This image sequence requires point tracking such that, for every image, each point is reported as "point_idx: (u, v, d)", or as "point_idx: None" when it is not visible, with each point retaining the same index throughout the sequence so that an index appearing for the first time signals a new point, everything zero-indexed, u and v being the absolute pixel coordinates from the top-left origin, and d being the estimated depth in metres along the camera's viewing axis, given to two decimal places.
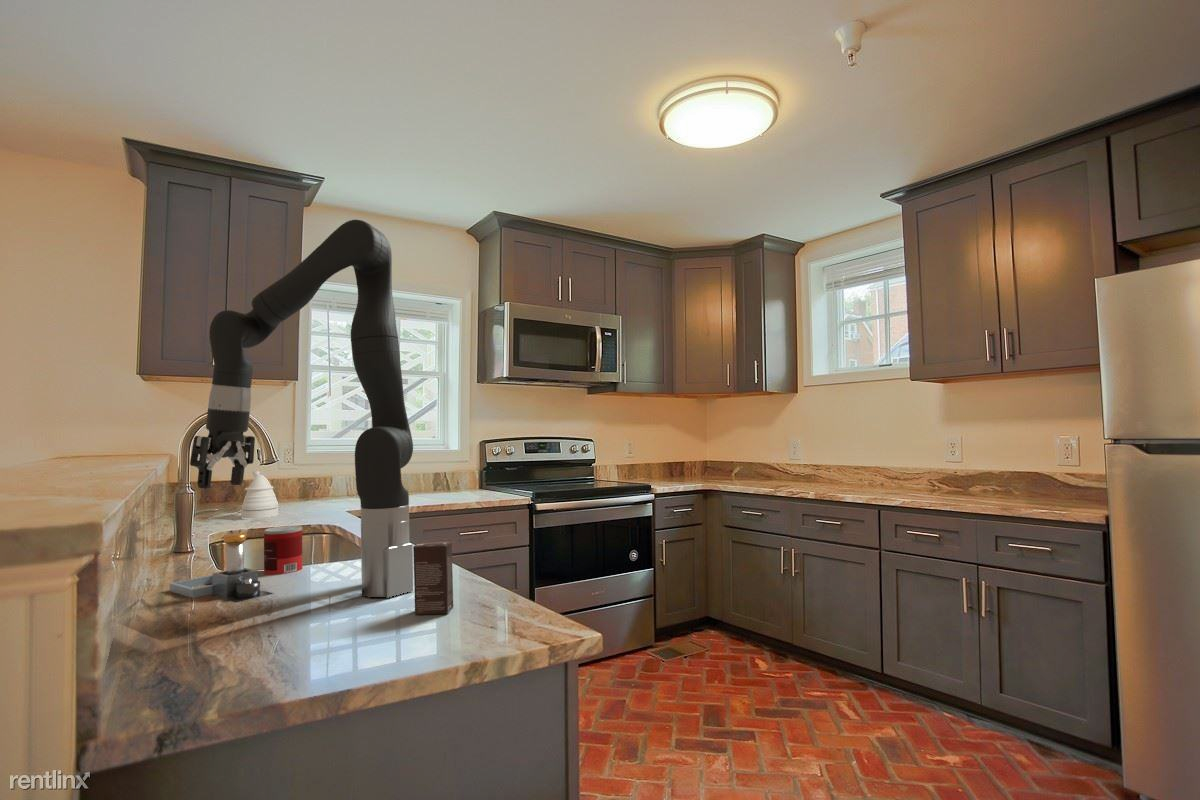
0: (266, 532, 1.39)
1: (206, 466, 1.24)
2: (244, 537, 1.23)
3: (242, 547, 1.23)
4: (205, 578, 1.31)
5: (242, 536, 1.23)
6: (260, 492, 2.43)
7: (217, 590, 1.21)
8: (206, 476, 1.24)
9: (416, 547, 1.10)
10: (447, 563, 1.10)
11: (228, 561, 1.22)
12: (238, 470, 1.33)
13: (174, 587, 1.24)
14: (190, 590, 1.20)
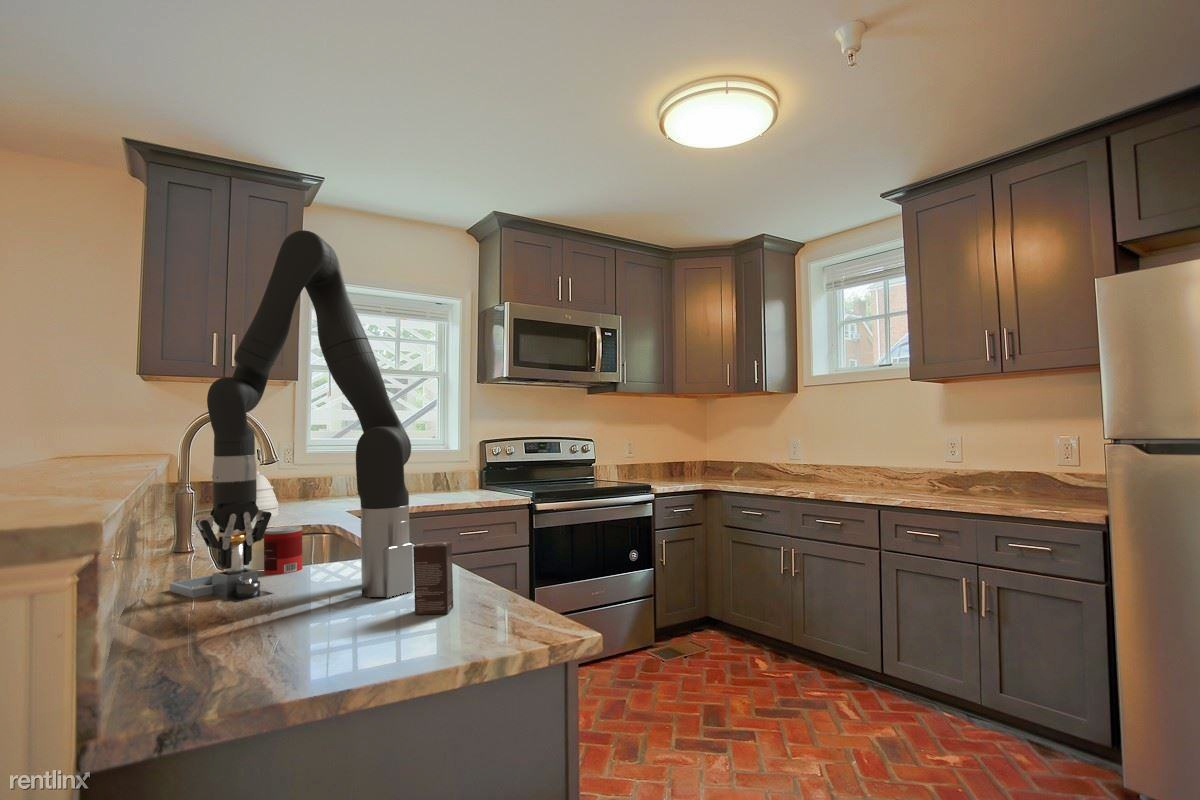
0: (266, 532, 1.39)
1: (221, 546, 1.20)
2: (244, 537, 1.23)
3: (242, 547, 1.23)
4: (205, 578, 1.31)
5: (242, 536, 1.23)
6: (260, 492, 2.43)
7: (217, 590, 1.21)
8: (224, 556, 1.21)
9: (416, 547, 1.10)
10: (447, 563, 1.10)
11: None
12: (244, 550, 1.24)
13: (174, 587, 1.24)
14: (190, 590, 1.20)
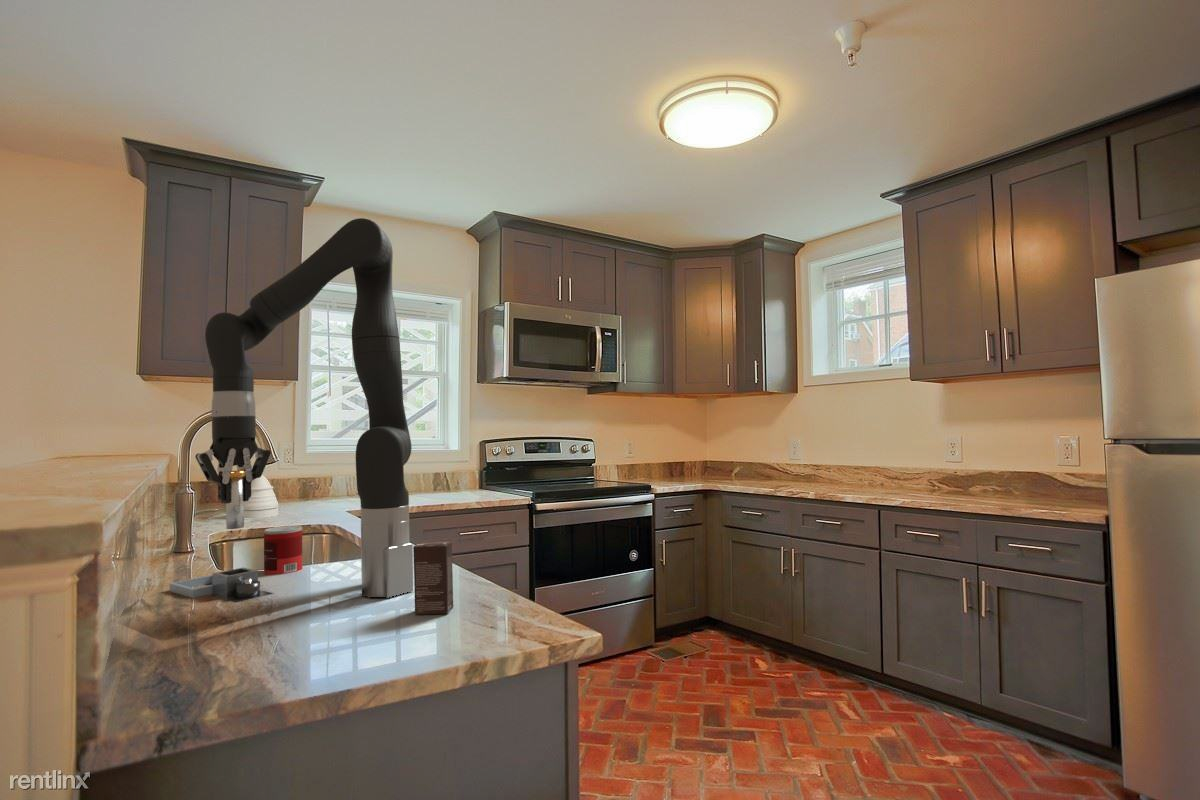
0: (266, 532, 1.39)
1: (221, 480, 1.21)
2: (243, 473, 1.24)
3: (241, 483, 1.24)
4: (205, 578, 1.31)
5: (241, 471, 1.23)
6: (260, 492, 2.43)
7: (217, 590, 1.21)
8: (224, 491, 1.21)
9: (416, 547, 1.10)
10: (447, 563, 1.10)
11: None
12: (243, 486, 1.25)
13: (174, 587, 1.24)
14: (190, 590, 1.20)
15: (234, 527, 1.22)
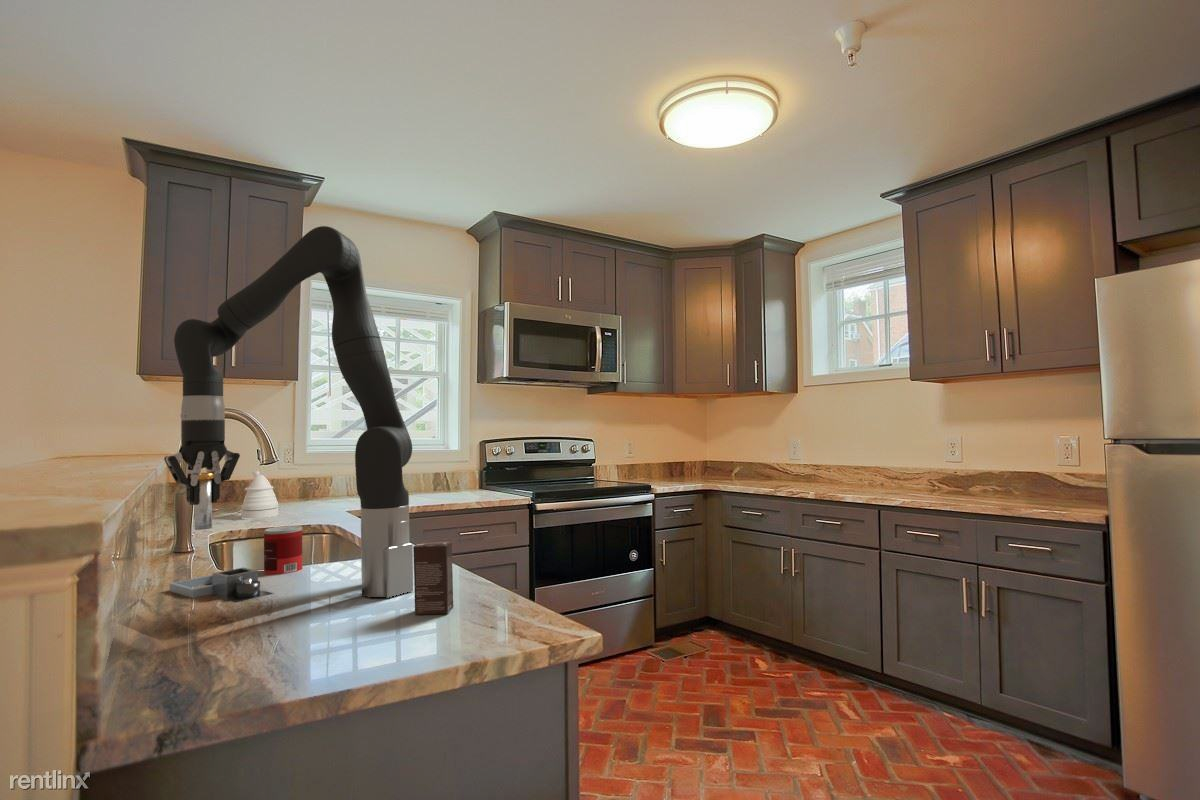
0: (266, 532, 1.39)
1: (190, 482, 1.24)
2: (212, 475, 1.27)
3: (210, 485, 1.27)
4: (205, 578, 1.31)
5: (210, 474, 1.27)
6: (260, 492, 2.43)
7: (217, 590, 1.21)
8: (192, 492, 1.25)
9: (416, 547, 1.10)
10: (447, 563, 1.10)
11: None
12: (212, 488, 1.28)
13: (174, 587, 1.24)
14: (190, 590, 1.20)
15: (202, 528, 1.25)
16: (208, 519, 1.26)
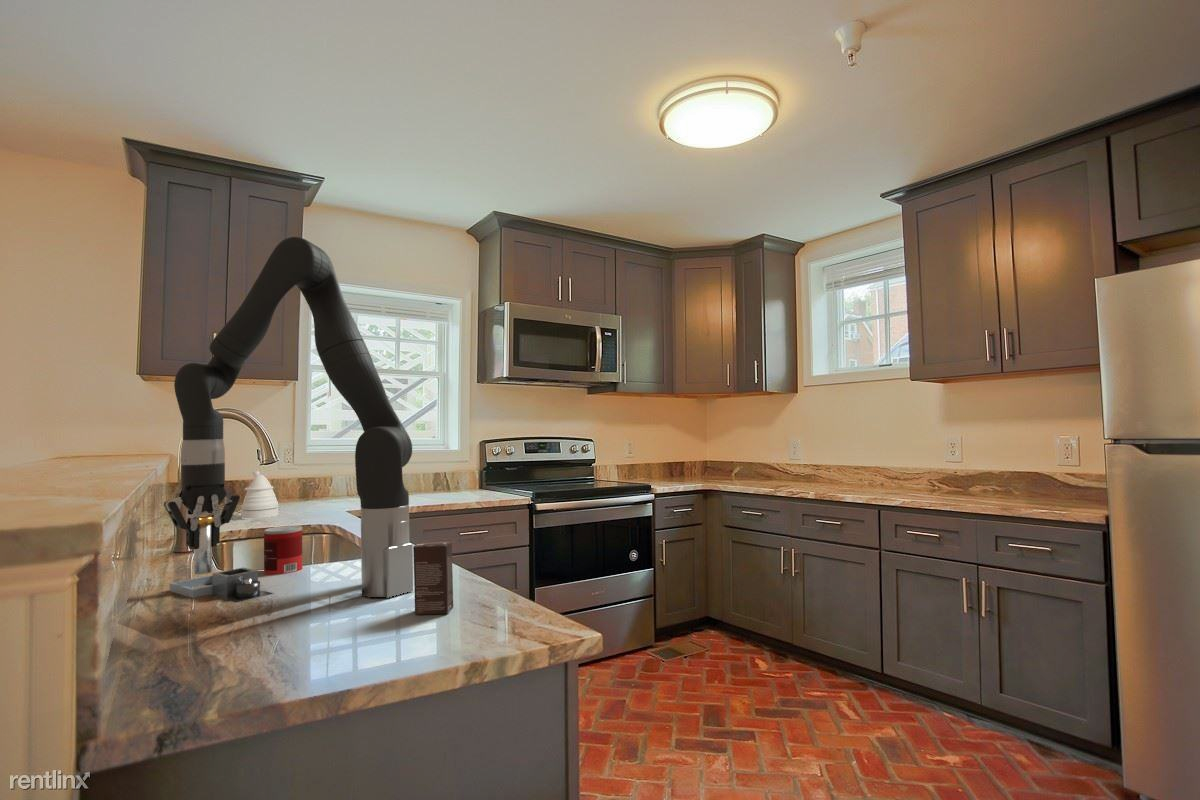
0: (266, 532, 1.39)
1: (190, 527, 1.24)
2: (212, 519, 1.27)
3: (210, 528, 1.27)
4: (205, 578, 1.31)
5: (210, 518, 1.26)
6: (260, 492, 2.43)
7: (217, 590, 1.21)
8: (192, 537, 1.24)
9: (416, 547, 1.10)
10: (447, 563, 1.10)
11: None
12: None
13: (174, 587, 1.24)
14: (190, 590, 1.20)
15: (201, 572, 1.25)
16: (208, 563, 1.26)
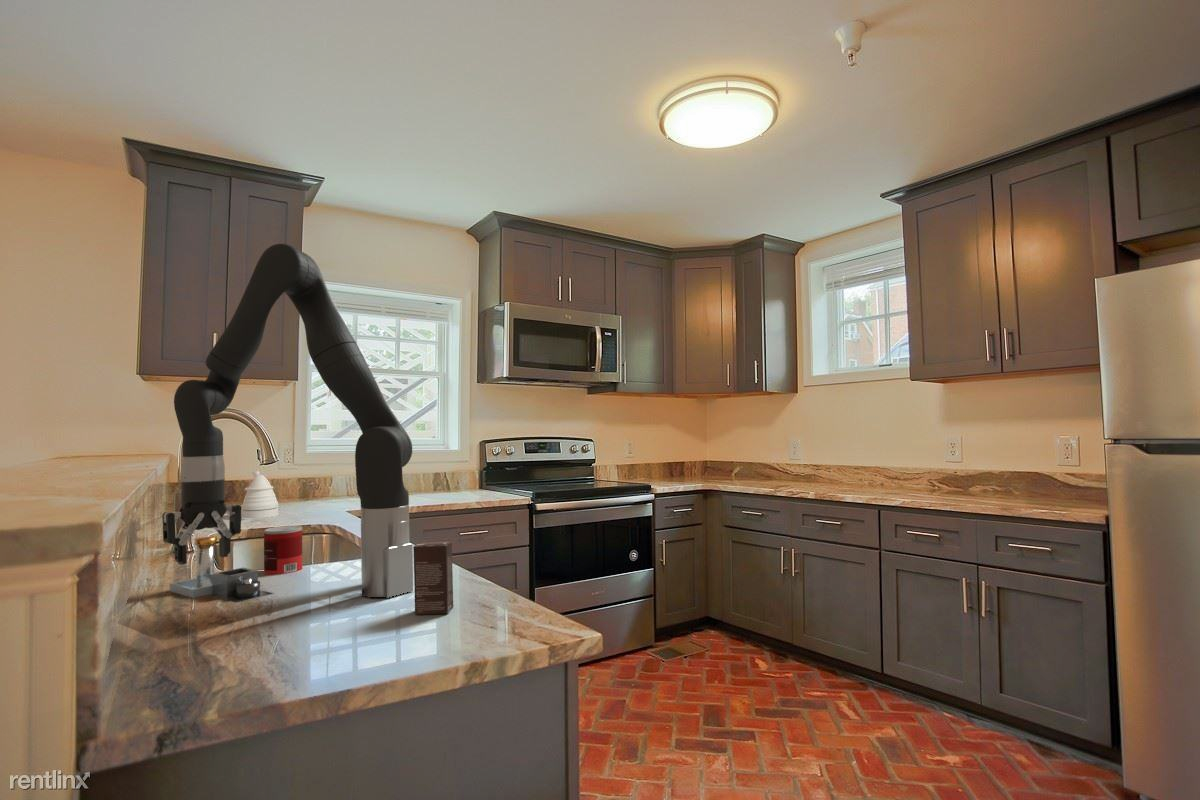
0: (266, 532, 1.39)
1: (178, 542, 1.22)
2: (214, 540, 1.27)
3: (212, 550, 1.27)
4: None
5: (212, 539, 1.26)
6: (260, 492, 2.43)
7: (217, 590, 1.21)
8: (180, 552, 1.22)
9: (416, 547, 1.10)
10: (447, 563, 1.10)
11: (198, 563, 1.25)
12: (222, 542, 1.29)
13: (174, 587, 1.24)
14: (190, 590, 1.20)
15: None
16: None
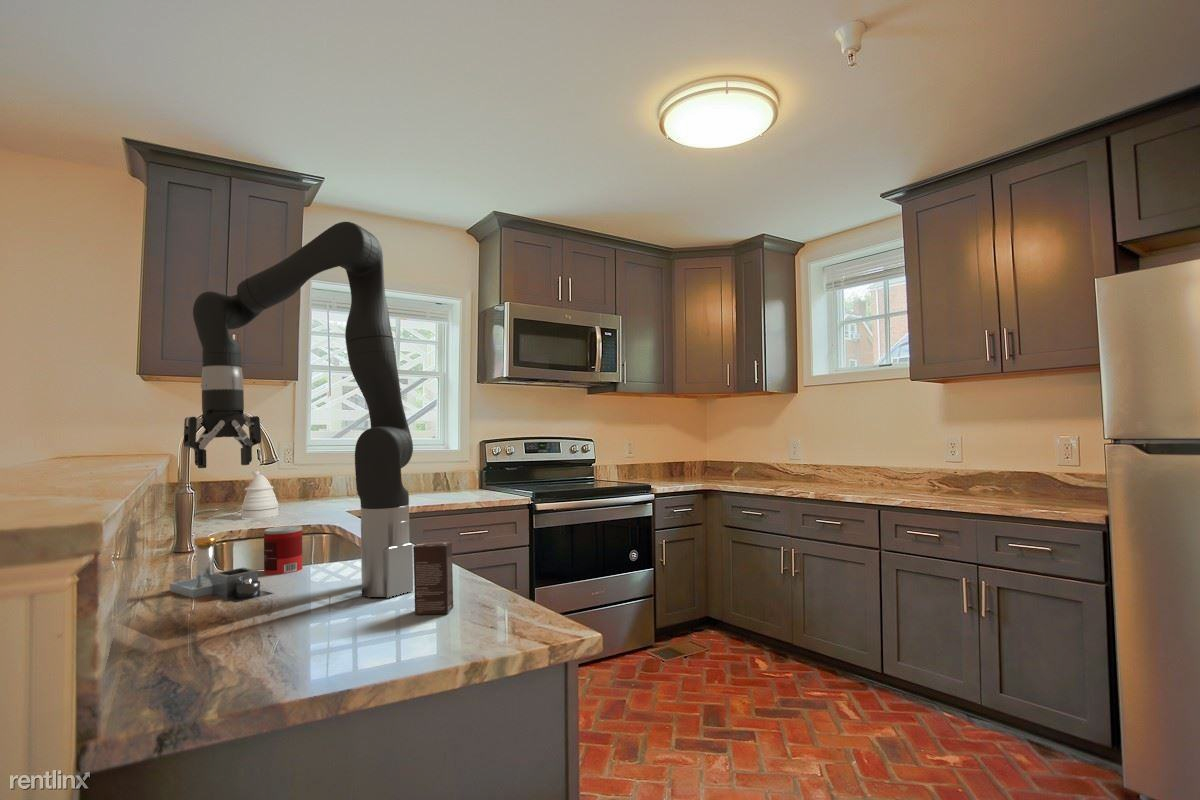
0: (266, 532, 1.39)
1: (198, 446, 1.25)
2: (214, 540, 1.27)
3: (212, 550, 1.27)
4: None
5: (212, 539, 1.26)
6: (260, 492, 2.43)
7: (217, 590, 1.21)
8: (200, 456, 1.26)
9: (416, 547, 1.10)
10: (447, 563, 1.10)
11: (198, 563, 1.25)
12: (244, 451, 1.33)
13: (174, 587, 1.24)
14: (190, 590, 1.20)
15: None
16: None
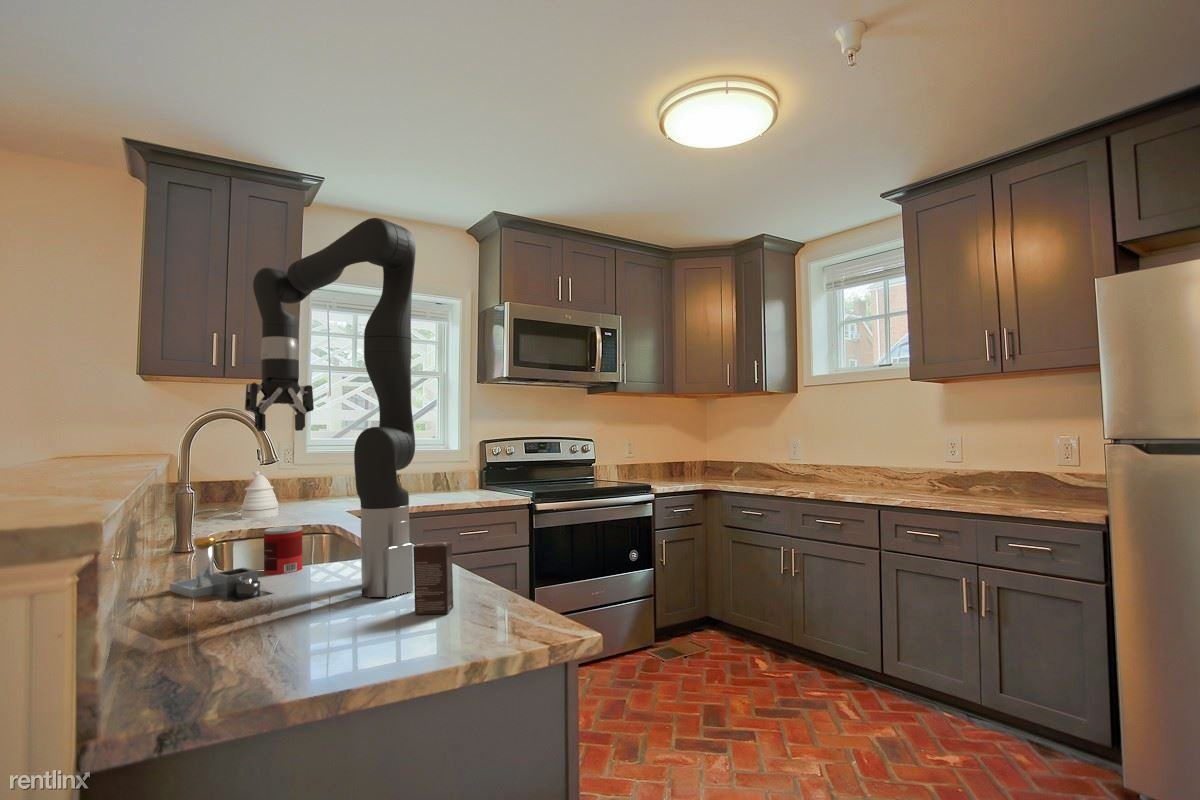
0: (266, 532, 1.39)
1: (258, 410, 1.35)
2: (213, 540, 1.27)
3: (211, 550, 1.27)
4: None
5: (211, 539, 1.26)
6: (260, 492, 2.43)
7: (217, 590, 1.21)
8: (260, 419, 1.35)
9: (416, 547, 1.10)
10: (447, 563, 1.10)
11: (197, 563, 1.25)
12: (298, 417, 1.43)
13: (174, 587, 1.24)
14: (190, 590, 1.20)
15: None
16: (210, 584, 1.26)
